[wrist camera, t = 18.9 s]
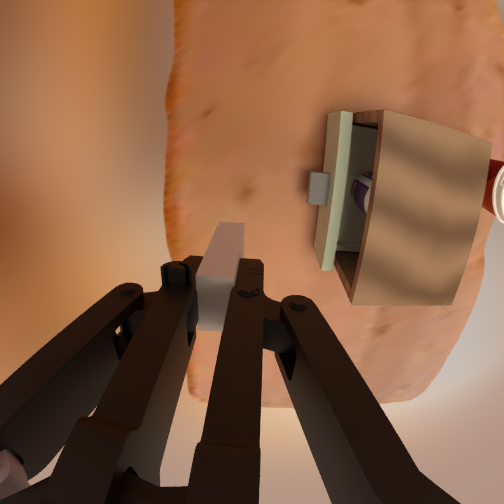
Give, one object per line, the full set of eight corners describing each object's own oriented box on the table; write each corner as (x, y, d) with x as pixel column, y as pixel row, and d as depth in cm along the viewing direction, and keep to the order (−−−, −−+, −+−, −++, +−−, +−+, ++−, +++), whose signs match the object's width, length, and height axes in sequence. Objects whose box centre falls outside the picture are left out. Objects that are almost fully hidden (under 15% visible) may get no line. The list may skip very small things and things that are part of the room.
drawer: (310, 111, 36) (320, 107, 29) (416, 130, 35) (442, 133, 29) (297, 246, 44) (302, 269, 37) (395, 253, 43) (414, 275, 37)
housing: (342, 114, 36) (384, 109, 22) (428, 132, 35) (491, 142, 22) (326, 249, 44) (351, 304, 30) (406, 254, 44) (451, 305, 30)
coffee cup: (430, 176, 38) (490, 203, 24) (454, 136, 35) (518, 149, 21) (459, 206, 40) (516, 240, 26) (482, 169, 37) (542, 191, 23)
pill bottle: (364, 216, 39) (390, 243, 30) (341, 188, 38) (363, 208, 29) (392, 191, 37) (424, 211, 29) (369, 162, 36) (399, 175, 27)
